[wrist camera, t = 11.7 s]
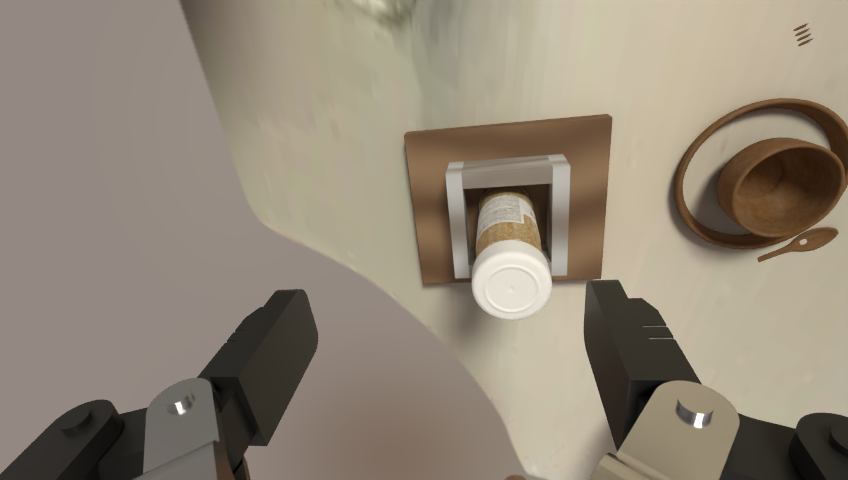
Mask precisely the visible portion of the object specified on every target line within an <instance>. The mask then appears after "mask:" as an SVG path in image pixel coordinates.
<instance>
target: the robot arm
mask: <svg viewBox="0 0 848 480" xmlns="http://www.w3.org/2000/svg"><path fill="white" fill-rule="evenodd" d="M584 341H585V347H586V351H587V355H588V358H589V361H590V364H591V368H592V371H593V374H594V378H595V381H596V384H597V387H598V391H599V394H600V397H601V400H602V404H603V407H604V410H605V413H606V417H607V420H608V423H609V427H610V430H611V433H612V436H613V440H614V443H615V446H616V449H617V453H616V454H615V455H613V454H611V453H607V454H606V455H605V456H604V457H603V458H602V459H601V461H600V462H599V463H598V465H597V467H596V468H595V470H594V471H593V473H592V474H591V476H590V478H589V479H588V480H848V417H845V416H842V415H837V414H831V413H813V414H809V415H806V416H804V417H802V418H801V419H800V420H799V422H798V424H797V426H796V429H794V428H790V427H786V426H782V425H778V424H773V423H769V422H765V421H761V420H757V419H754V418H750V417H747V416H744V415H742V414H739V413H737V411H736V409H735V408H734V406H733V405H732V404H731V403H730V402H729V401H728V400H727V399H726V398H725V397H724V396H722V395H721V394H720V393H718V392H716V391H715V390H713V389H711V388H709V387H707V386H704V385H702V384H701V382H700V381H699V379H698V377H697V376H696V374H695V372H694V370H693V369H692V367H691V365H690V364H689V362H688V360H687V359H686V357H685V355H684V354H683V352H682V350H681V349H680V347H679V345H678V344H677V342H676V340H674V339H673V335H672V334H671V332H670V330H669V328H667V327H666V323H665V322H664V320H663V318H662V317H661V315H660V313H659V312H658V310H657V309H655V308H654V307H653V306H651V305H650V304H649V303H647V302H646V301H645V300H643V299H642V298H630V299H628V297H627V295H626V293H625V291H624V289H623V287H622V285H621V283H620V282H619V281H618V280H594V281H588V282H587V285H586V297H585V314H584ZM317 344H318V332H317V328H316V324H315V321H314V317H313V314H312V311H311V307H310V304H309V300H308V297H307V294H306V292H305V291H304V290H302V289H294V290H277V291H276V292H275V293H274V294H273V295H272V296H271V298H270V299H269V300H268V302H267V303H266V304H265V305H264V307H260V308H258V309H257V310H256V311H254V312H253V313H251V314H250V315H249V316H247V317H246V318H245V319H244V320H243V321H242V323H241V324H240V325H239V326H238V328H237V329H236V330H235V333H233V334H232V335H231V336H230V337H229V339H228V340H227V343H225V344H224V345H223V346H222V347H221V349H220V350H219V351H218V352H217V354H216V355H215V356H214V357H213V358H212V360H211V361H210V362H209V363H208V365H207V366H206V367H205V368H204V370H203V371H202V372H201V373H200V375H199V376H198V377H197V378H191V379H187V380H183V381H180V382H178V383H176V384H174V385H172V386H170V387H168V388H167V389H165V390H164V391H162V392H161V393H160V394H159V395H158V396H157V397H156V398H155V399H154V400H153V401H152V402H151V404H150V405H149V407H148V408H143V409H139V410H135V411H132V412H127V413H123V414H118V412H117V410H116V409H115V407H114V406H113V404H112V403H111V402H110V401H108V400H95V401H91V402H87V403H84V404H82V405H79V406H77V407H75V408H73V409H71V410H70V411H68V412H66V413H65V414H63V415H62V416H61V417H59V418H58V419H56V420H55V421H54V422H53V423H52V424H51V425H50V426H49V427H48V428H47V429H46V430H45V431H44V432H43V433H42V434H41V435H40V436H39V437H38V438H37V439H36V440H35V441H34V442H33V443H31V445H30V446H29V447H28V448H26V449H25V450H24V451H23V452H22V453H21V454H20V455H19V456H18V457H17V458H16V459H15V460H14V461H13V462H12V463H11V464H10V465H9V466H8V467H7V468H6V469H5V470H4V471H3V472H2V473H1V474H0V480H250V475H249V470H248V465H247V461H246V459H245V457H244V453H245V451H246V450H247V448H248V446H249V445H250V446H267V445H268V443H269V441H270V439H271V437H272V435H273V434H274V431H275V430H276V428H277V426H278V424H279V422H280V420H281V418H282V416H283V414H284V412H285V410H286V408H287V406H288V404H289V402H290V400H291V398H292V396H293V395H294V392H295V391H296V389H297V387H298V385H299V383H300V381H301V379H302V377H303V375H304V373H305V371H306V369H307V367H308V365H309V363H310V361H311V359H312V358H313V356H314V353H315V352H316V349H317Z"/></svg>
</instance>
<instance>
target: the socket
mask: <svg viewBox="0 0 848 480" xmlns="http://www.w3.org/2000/svg"><path fill="white" fill-rule="evenodd" d="M611 130H612V117H611V116H609V115H608V114H603V115H592V116H581V117H570V118H558V119H547V120H536V121H525V122H513V123H502V124H491V125H480V126H468V127H457V128H446V129H435V130H424V131H412V132H407V133H406V134H405V135H404V139H405V147H406V155H407V162H408V170H409V177H410V185H411V193H412V200H413V208H414V215H415V223H416V231H417V238H418V246H419V253H420V261H421V269H422V276H423V283H457V282H472V269H473V265H474V263H475V260H476V239H477V228H478V218H479V201H480V198H481V196H482V195H483V193H484V192H485V191H486V190H487V188H489V187H502V186H518V185H519V186H521V187H523V188H524V189H525V190H526V191H527V192H528V193H529V195H530V197H531V200H532V204H533V211H534V215H535V219H536V223H537V227H538V232H539V236H540V245H541V249H542V254H543V256H544V257H545V259H546V261H547V263H548V266H549V269H550V274H551V278H552V280H577V279H601V271H602V257H603V243H604V229H605V214H606V200H607V186H608V172H609V158H610V144H611Z"/></svg>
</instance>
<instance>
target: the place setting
mask: <svg viewBox="0 0 848 480" xmlns="http://www.w3.org/2000/svg"><path fill="white" fill-rule="evenodd" d="M806 25H807V24H805V25H802V26H800V27H798V28H796V29H794V30H793V31H796V30H798V29H800V28H802V27H804V26H806ZM807 30H809V29H806V30H804V31H802V32H799V33H797V34H796V35H795V36H798V35H800V34H802V33H804V32H806V31H807ZM809 35H811V34H808V35H806V36H803V37H801V38H799V39H798V40H797V41H799V40H801V39H803V38H805V37H807V36H809ZM810 40H812V39H810ZM810 40H807V41H805V42H802V43H800V44H799V45H798V46H801V45H803V44H805V43H807V42H809V41H810ZM768 108H784V109H791V110H795V111H798V112H801V113H803V114H806V115H808V116H809V117H811V118H812V119H814V120H815V121H816V122H817V123H818V124H819V125H820V126H821V127H822V128H823V130H824V131H825V132H826V134H827V137H828V139H829V142H830V146H831V151H830V150H829V149H826V148H824V147H822V146H819V145H816V144H813V143H810V142H806V141H803V140H799V139H793V138H772V139H767V140H763V141H759V142H757V143H754V144H752V145H750V146H748V147H746V148H744V149H743V150H741V151H740V152H738V153H737V154H736V155H735V156H734V157H733V158H732V159H731V160H730V161H729V162H728V163H727V165H726V166H725V167H724V169H723V171H722V172H721V175H720V177H719V180H718V185H717V196H718V200H719V203H720V205H721V207H722V209H723V210H724V212H725V213H726V214H727V215H728V216H729V217H730V218H731V219H732V220H733V221H735V222H736V223H737V224H738V225H740V226H741V227H742V228H744V229H745V230H747V231H748V232H750V233H752V234H744V235H731V234H724V233H719V232H716V231H713V230H711V229H709V228H706V227H705V226H703V225H702V224H700V223H699V222H698V221H697V220H696V219H695V218H694V217H693V216H692V215H691V214H690V212H689V210H688V209H687V207H686V204H685V201H684V197H683V186H682V185H683V178H684V175H685V172H686V169H687V167H688V164H689V162H690V161H691V159H692V157H693V155H694V154H695V152H696V151H697V150H698V148H699V147H700V146H701V145H702V143H703V142H704V141H705V140H706V139H707V138H708V137H709V136H710V135H711V134H712V133H713V132H715V131H716V130H717V129H718V128H720V127H721V126H722V125H724V124H725V123H727V122H728V121H730V120H732V119H733V118H736V117H738V116H740V115H743V114H746V113H749V112H752V111H756V110H760V109H768ZM847 185H848V127H847V125H846V124H845V122H844V121H843V120H842V119H841V118H840V117H839V116H838V115H837V114H836V113H834V112H833V111H832V110H830V109H829V108H827V107H824V106H822V105H820V104H818V103H814V102H811V101H807V100H800V99H786V98H780V99H771V100H764V101H760V102H756V103H752V104H749V105H746V106H744V107H741V108H739V109H737V110H735V111H732V112H730V113H729V114H727V115H725V116H723V117H722V118H720V119H719V120H717V121H716V122H715V123H713V124H712V125H710V126H709V127H708V128H707V129H706V130H705V131H704V132H703V133H702V134H701V135H700V136H699V137H698V138H697V139H696V140H695V141H694V142H693V144H692V145H691V147H690V148H689V149H688V151H687V153H686V154H685V156H684V158H683V160H682V162H681V164H680V167H679V169H678V173H677V177H676V183H675V198H676V203H677V207H678V210H679V213H680V215H681V216H682V218H683V220H684V222H685V223H686V224H687V225H688V227H689V228H690V229H691V230H692V231H693V232H694V233H696V234H697V235H698V236H699V237H701V238H702V239H704V240H706V241H708V242H710V243H712V244H715V245H718V246H722V247H726V248H732V249H754V248H760V247H766V246H770V245H774V244H777V243H780V242H783V241H785V240H788V239H790V238H792V237H794V236H796V235H798V234H800V233H802V232H803V231H805V230H807V229H808V228H810V227H811V226H813V225H815V224H816V223H818V222H819V221H821V220H822V219H823V218H824V217H825V216H826V215H828V213H829V212H830V211H831V210H832V209H833V208H834V207H835V205H836V204H837V202H838V201H839V199H840V197H841V196H842V194H843V192H844V191H845V189H846V187H847ZM837 234H838V230H837V229H835V228H829V227H825V228H816V229H812V230H809V231H807V232H804V233H802V234H801V235H799V236H797V237H796V238H795V239H794V240H793V241H792V242H791V243H790V244H788V245H787V246H785V247H783V248H781V249H779V250H776V251H773V252H771V253H768V254H765V255H763V256H760V257H758V258H757V259H758V262H761V261H764V260H766V259H769V258H772V257H775V256H777V255H780V254H783V253H787V252H790V251H809V250H814V249H817V248H820V247H822V246H824V245H826V244H827V243H829V242H830V241H831V240H833V239H834V238H835V237H836V236H837ZM802 239H807V243H806V244H804V245H800V243H799V241H800V240H802Z"/></svg>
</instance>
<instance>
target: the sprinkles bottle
mask: <svg viewBox="0 0 848 480" xmlns="http://www.w3.org/2000/svg"><path fill="white" fill-rule="evenodd" d="M551 292H552V278H551V274H550V269H549V266H548V263H547V261H546V259H545V257H544V256H543V254H542V249H541V245H540V236H539V232H538V227H537V223H536V219H535V215H534V211H533V204H532V200H531V197H530V195H529V193H528V192H527V191H526V190H525V189H524V188H523V187H521V186H519V185H518V186H502V187H489V188H487V190H486V191H485V192H484V193H483V195H482V196H481V198H480V201H479V218H478V228H477V239H476V260H475V263H474V265H473V269H472V293H473V296H474V298H475V300H476V302H477V303H478V305H479V306H480V307H481V308H482V309H483V310H484V311H485V312H487V313H488V314H490V315H492V316H494V317H496V318H499V319H504V320H521V319H525V318H528V317H530V316H532V315H534V314H536V313H537V312H539V311H540V310H541V309H542V308H543V307H544V306H545V305H546V303H547V302H548V300H549V298H550V295H551Z"/></svg>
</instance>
